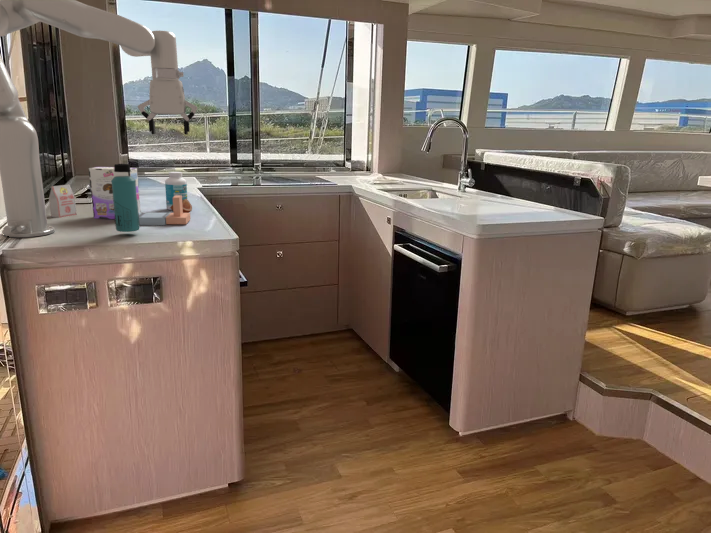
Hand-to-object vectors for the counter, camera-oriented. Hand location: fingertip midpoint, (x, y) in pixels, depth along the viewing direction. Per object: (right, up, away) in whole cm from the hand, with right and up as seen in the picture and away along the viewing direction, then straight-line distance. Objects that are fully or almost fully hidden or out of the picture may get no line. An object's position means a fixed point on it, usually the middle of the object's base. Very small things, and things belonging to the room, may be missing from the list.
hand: (170, 134), depth 166 cm
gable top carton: (-39, -24, +12) cm, 48 cm away
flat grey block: (-8, -27, +5) cm, 29 cm away
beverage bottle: (-7, -32, -13) cm, 36 cm away
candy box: (-21, -25, +11) cm, 35 cm away
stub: (+1, -27, +6) cm, 27 cm away
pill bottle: (-8, -20, +31) cm, 38 cm away
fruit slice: (-3, -23, +22) cm, 32 cm away
